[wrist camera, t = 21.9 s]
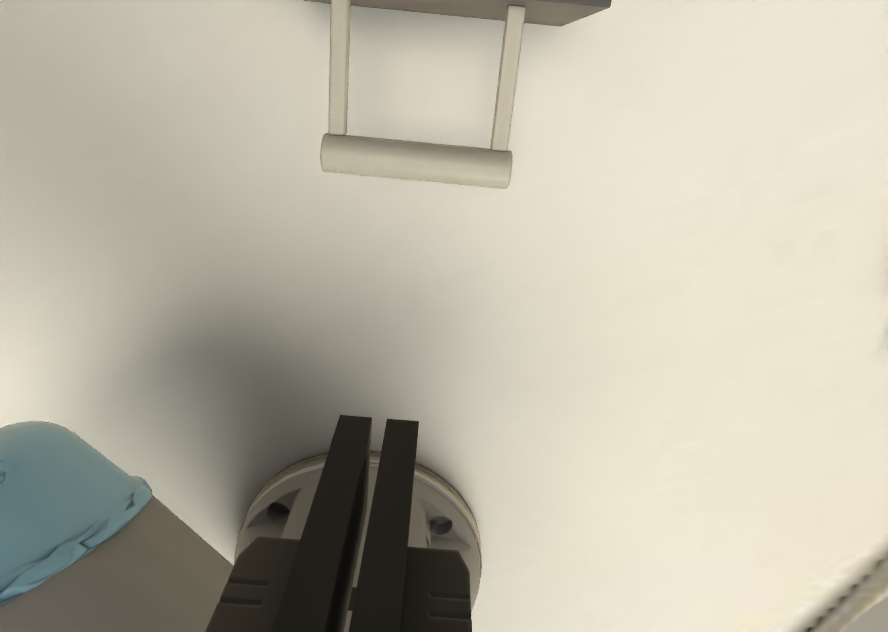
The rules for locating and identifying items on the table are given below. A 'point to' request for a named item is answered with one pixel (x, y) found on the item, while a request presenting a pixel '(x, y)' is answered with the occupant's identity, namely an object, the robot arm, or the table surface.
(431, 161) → the drawer
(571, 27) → the table surface
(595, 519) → the table surface
